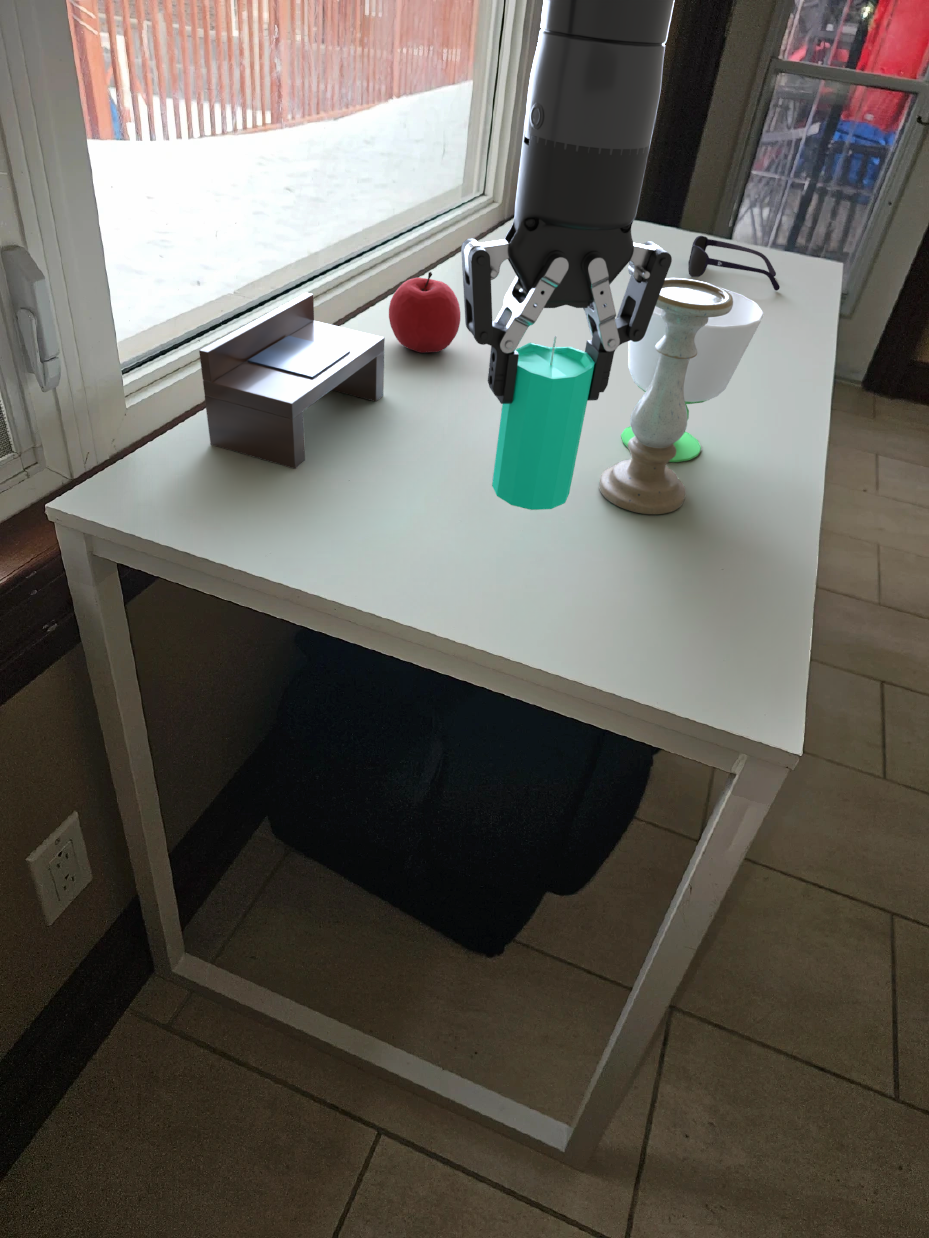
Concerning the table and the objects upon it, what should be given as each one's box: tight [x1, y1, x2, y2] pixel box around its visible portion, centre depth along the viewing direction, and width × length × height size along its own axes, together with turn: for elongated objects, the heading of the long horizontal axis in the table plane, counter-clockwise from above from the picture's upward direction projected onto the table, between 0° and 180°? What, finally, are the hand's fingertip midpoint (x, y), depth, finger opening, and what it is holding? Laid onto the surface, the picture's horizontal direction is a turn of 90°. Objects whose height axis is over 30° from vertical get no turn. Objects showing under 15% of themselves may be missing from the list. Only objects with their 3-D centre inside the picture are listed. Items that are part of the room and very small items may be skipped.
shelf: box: [198, 292, 385, 469], centre depth 89 cm, size 20×10×10 cm, turn 158°
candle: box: [491, 335, 595, 511], centre depth 61 cm, size 6×6×12 cm
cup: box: [620, 286, 765, 463], centre depth 90 cm, size 14×14×16 cm
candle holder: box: [598, 277, 733, 515], centre depth 79 cm, size 9×9×20 cm
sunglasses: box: [688, 235, 781, 291], centre depth 145 cm, size 14×16×5 cm
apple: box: [388, 271, 461, 354], centre depth 108 cm, size 9×9×10 cm
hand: (545, 397), depth 60 cm, fingers closed on candle, 6 cm apart
